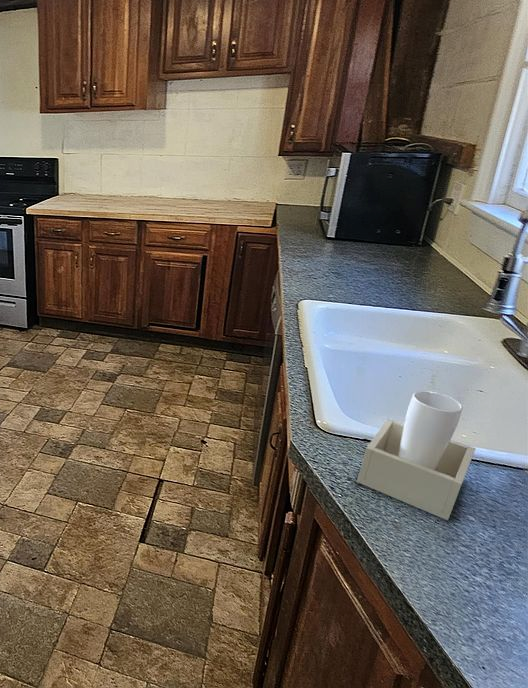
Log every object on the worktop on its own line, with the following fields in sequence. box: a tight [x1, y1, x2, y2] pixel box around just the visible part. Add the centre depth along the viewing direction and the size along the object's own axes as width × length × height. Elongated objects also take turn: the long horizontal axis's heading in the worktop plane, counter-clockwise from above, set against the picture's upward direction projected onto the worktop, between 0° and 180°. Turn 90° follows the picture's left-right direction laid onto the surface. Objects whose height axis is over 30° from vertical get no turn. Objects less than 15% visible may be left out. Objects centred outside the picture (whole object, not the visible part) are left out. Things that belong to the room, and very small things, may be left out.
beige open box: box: [356, 418, 476, 521], centre depth 89 cm, size 13×13×7 cm
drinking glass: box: [398, 390, 463, 471], centre depth 87 cm, size 7×7×15 cm
